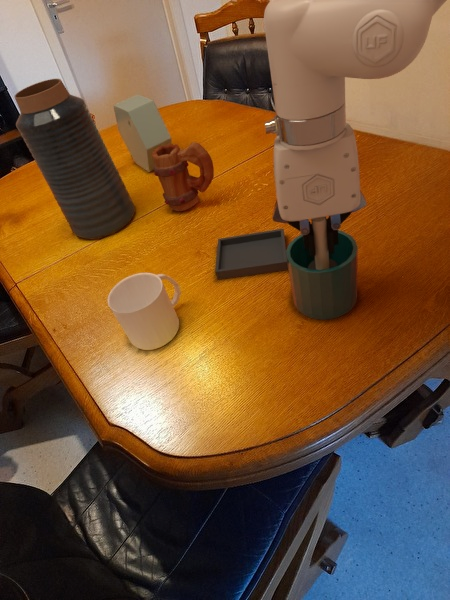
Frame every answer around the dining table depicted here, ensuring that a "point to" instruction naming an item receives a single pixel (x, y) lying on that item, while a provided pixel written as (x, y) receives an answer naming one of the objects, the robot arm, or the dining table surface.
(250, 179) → the dining table surface
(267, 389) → the dining table surface
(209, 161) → the mug
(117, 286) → the mug
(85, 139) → the vase
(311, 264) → the brush
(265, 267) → the tray
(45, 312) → the dining table surface
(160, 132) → the pale green angular block
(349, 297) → the jar
